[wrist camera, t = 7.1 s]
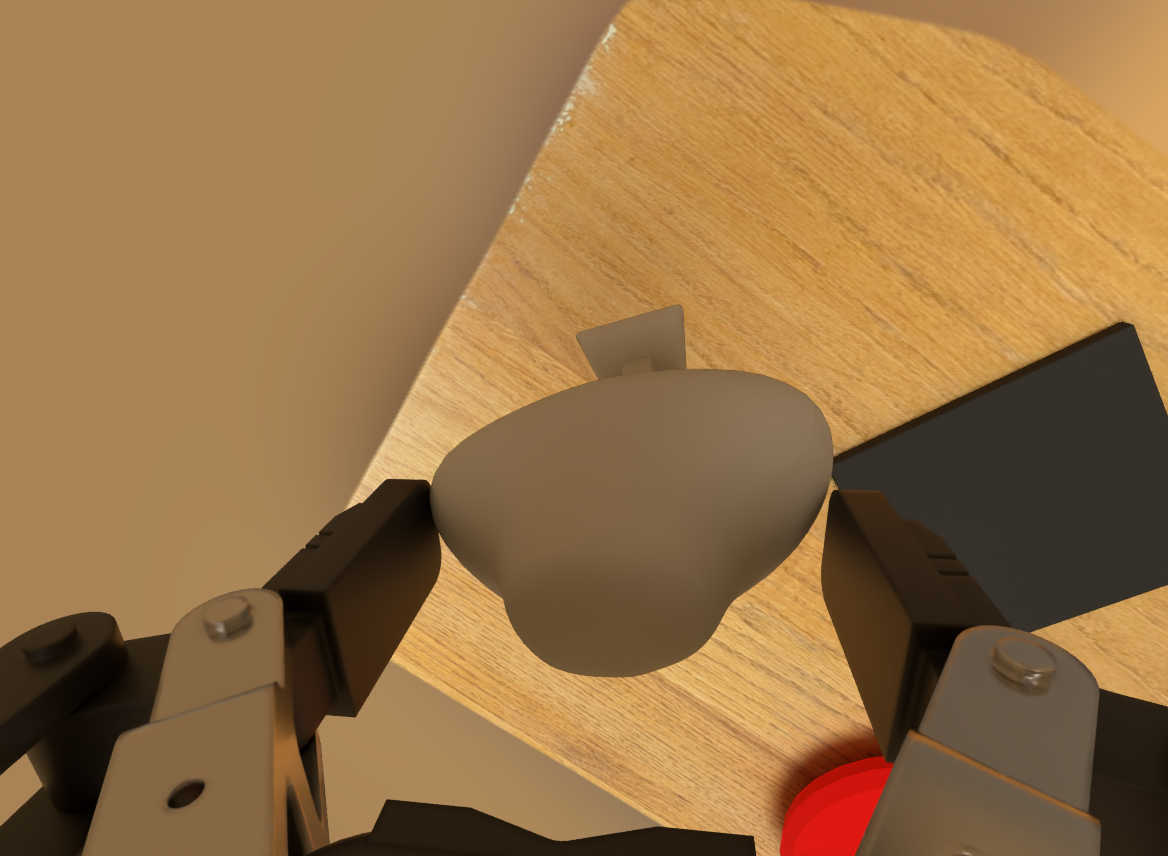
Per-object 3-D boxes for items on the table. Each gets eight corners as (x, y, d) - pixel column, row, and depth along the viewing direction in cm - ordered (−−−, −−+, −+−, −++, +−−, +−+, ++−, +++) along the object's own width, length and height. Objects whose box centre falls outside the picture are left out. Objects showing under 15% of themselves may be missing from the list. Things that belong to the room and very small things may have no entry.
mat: (823, 461, 33) (827, 467, 32) (1122, 320, 28) (1134, 324, 28) (931, 655, 37) (937, 665, 36) (1212, 557, 32) (1224, 566, 31)
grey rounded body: (560, 481, 21) (436, 822, 9) (508, 334, 19) (283, 542, 8) (782, 430, 19) (947, 774, 8) (747, 265, 17) (894, 403, 6)
